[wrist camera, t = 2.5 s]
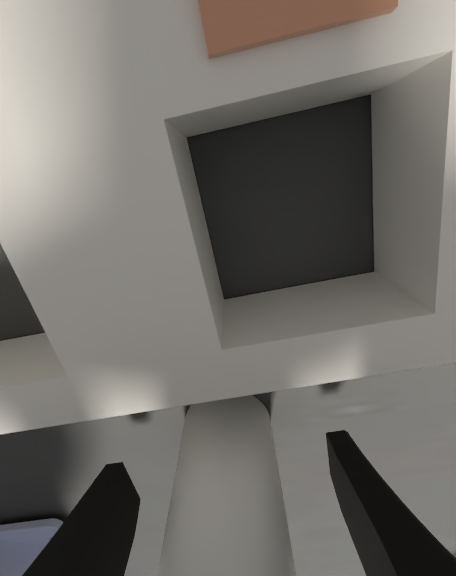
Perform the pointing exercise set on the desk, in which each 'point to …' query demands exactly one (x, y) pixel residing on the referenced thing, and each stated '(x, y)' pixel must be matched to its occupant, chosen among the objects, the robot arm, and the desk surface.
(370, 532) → the robot arm
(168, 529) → the plug
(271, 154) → the desk surface
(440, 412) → the desk surface
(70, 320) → the white flat block
